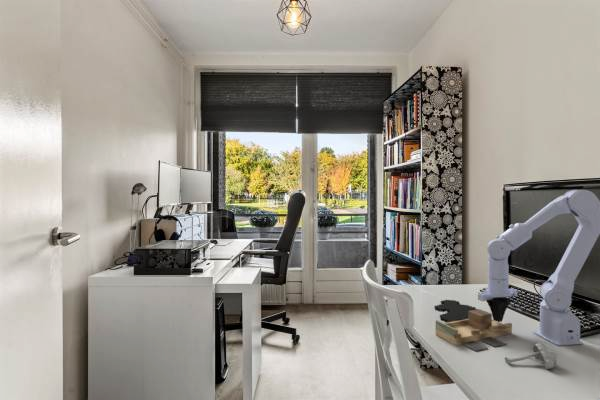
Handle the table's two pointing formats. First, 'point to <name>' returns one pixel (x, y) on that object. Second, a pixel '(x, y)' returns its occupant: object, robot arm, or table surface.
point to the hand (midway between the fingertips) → (497, 320)
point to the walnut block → (479, 319)
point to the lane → (472, 334)
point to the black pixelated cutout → (453, 310)
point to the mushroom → (538, 356)
